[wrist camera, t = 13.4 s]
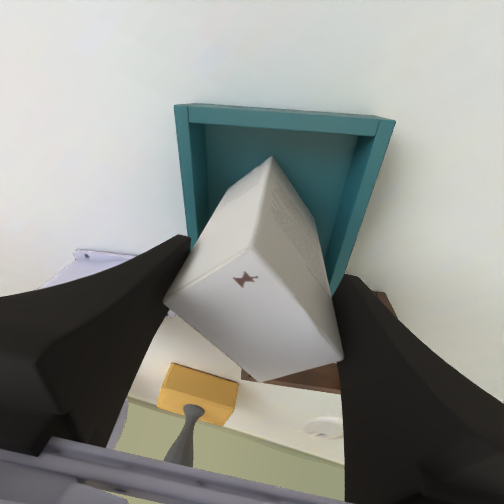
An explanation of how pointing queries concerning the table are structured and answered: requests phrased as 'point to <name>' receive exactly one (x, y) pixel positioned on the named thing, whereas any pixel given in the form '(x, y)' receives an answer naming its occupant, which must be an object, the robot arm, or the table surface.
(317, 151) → the bin
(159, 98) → the table surface
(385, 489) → the robot arm
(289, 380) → the frame
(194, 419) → the rubber stamp
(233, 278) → the cosmetic box
